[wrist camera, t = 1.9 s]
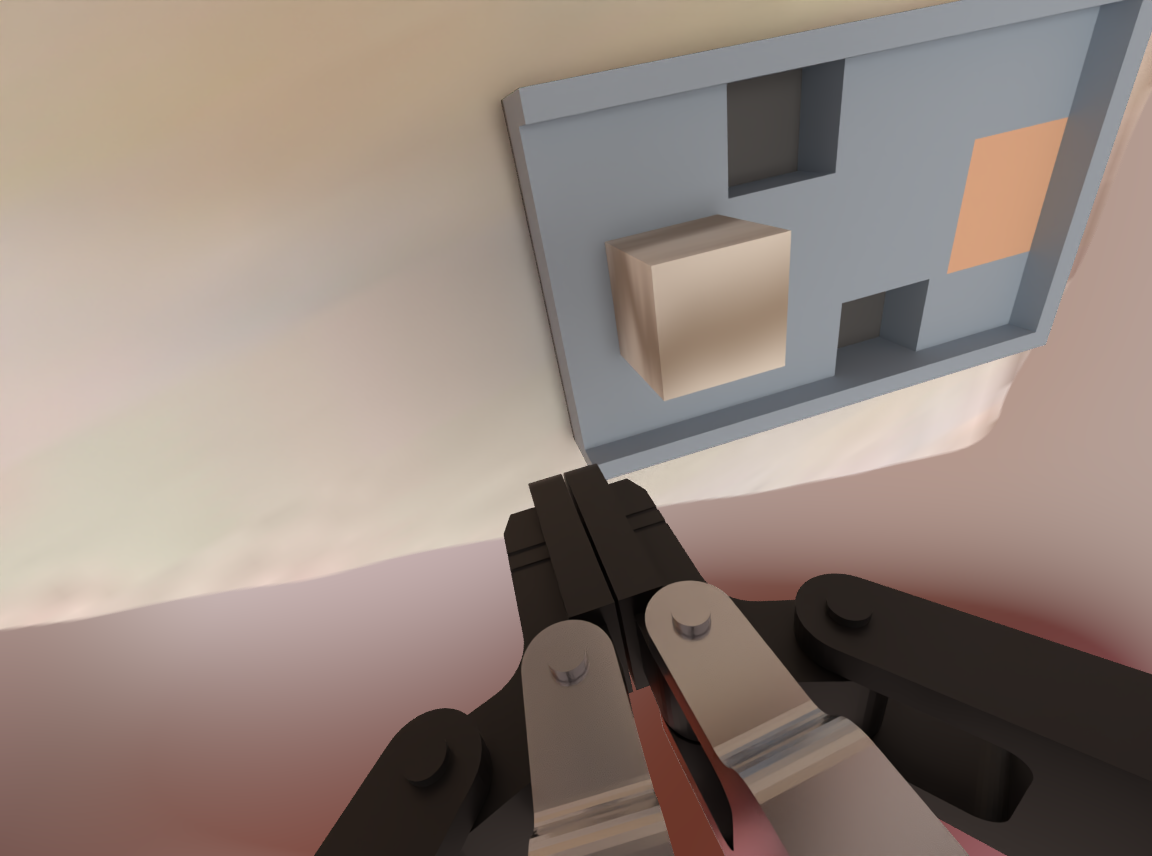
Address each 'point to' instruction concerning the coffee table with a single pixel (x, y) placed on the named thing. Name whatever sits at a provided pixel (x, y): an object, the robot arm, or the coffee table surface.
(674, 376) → the cream cube
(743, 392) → the track
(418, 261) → the coffee table surface
